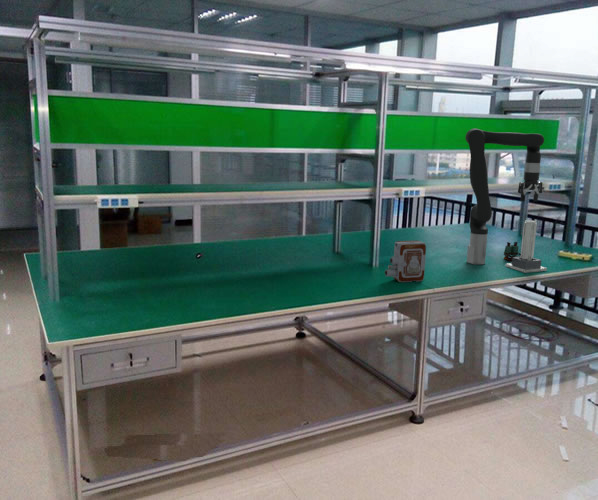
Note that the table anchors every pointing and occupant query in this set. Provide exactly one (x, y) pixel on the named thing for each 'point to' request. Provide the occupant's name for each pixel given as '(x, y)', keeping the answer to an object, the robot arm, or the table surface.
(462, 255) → the table surface
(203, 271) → the table surface
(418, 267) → the cine camera
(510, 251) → the binoculars
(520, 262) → the mount
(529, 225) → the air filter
